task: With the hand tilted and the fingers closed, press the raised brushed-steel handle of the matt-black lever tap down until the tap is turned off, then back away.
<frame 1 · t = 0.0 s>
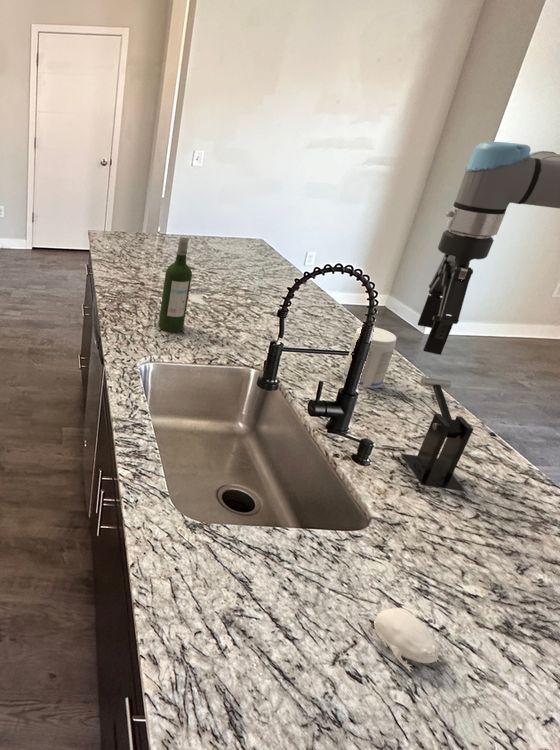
hand: (428, 338, 106), 28 cm above the countertop, tool pointing down, fingers open, 13 cm apart
supplement tub: (360, 382, 146), on the countertop
tap lever: (443, 406, 110), point 14 cm above the countertop, hinge at 25.0°
wine bottle: (170, 327, 173), on the countertop
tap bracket: (429, 475, 112), on the countertop
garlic: (403, 644, 78), on the countertop
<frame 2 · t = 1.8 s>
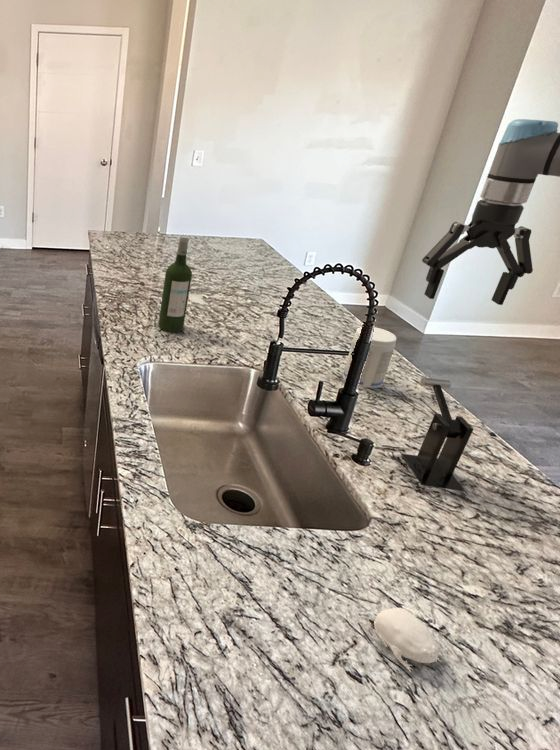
hand: (462, 299, 117), 31 cm above the countertop, tool pointing down, fingers open, 13 cm apart
nothing on the countertop moved.
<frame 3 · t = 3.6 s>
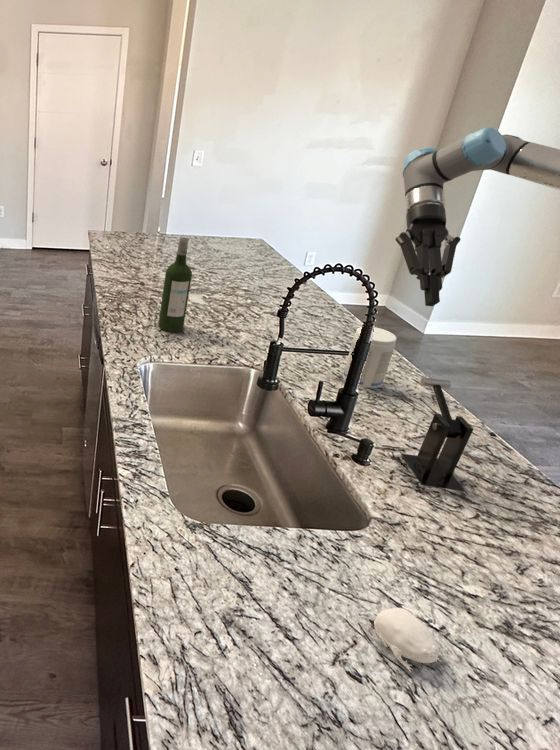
hand: (432, 303, 118), 30 cm above the countertop, tool tilted 45°, fingers closed
nothing on the countertop moved.
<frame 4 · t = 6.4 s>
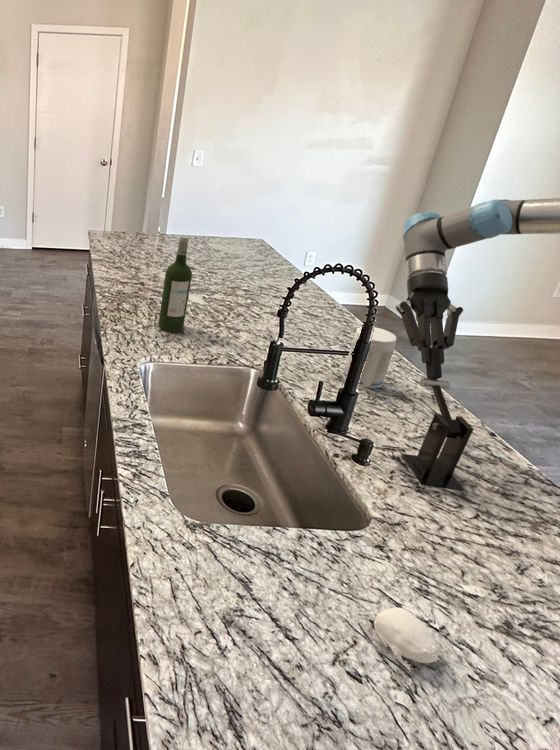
hand: (434, 378, 114), 17 cm above the countertop, tool tilted 45°, fingers closed
tap lever: (442, 406, 110), point 14 cm above the countertop, hinge at 23.6°, touching gripper
everything else where it was.
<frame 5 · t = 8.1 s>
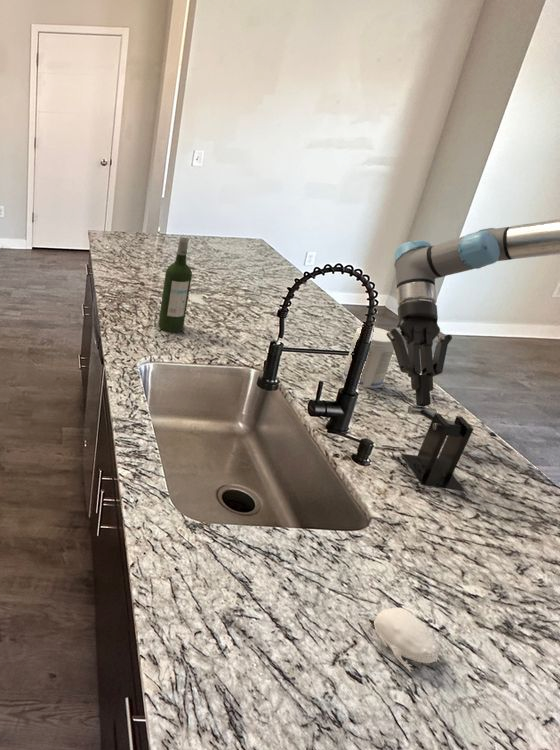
hand: (423, 404, 117), 11 cm above the countertop, tool tilted 45°, fingers closed
tap lever: (436, 419, 112), point 11 cm above the countertop, hinge at -15.3°, touching gripper
everything else where it was.
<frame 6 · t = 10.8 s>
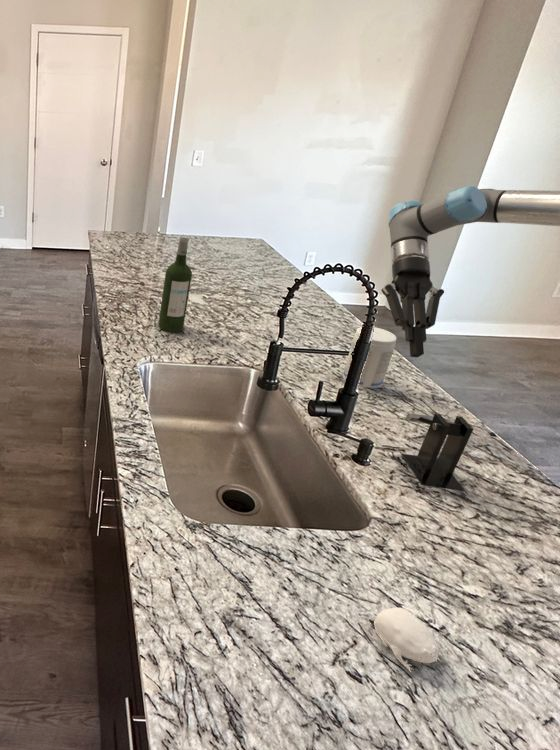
hand: (417, 355, 122), 18 cm above the countertop, tool tilted 45°, fingers closed
tap lever: (435, 423, 112), point 10 cm above the countertop, hinge at -24.3°
everything else where it was.
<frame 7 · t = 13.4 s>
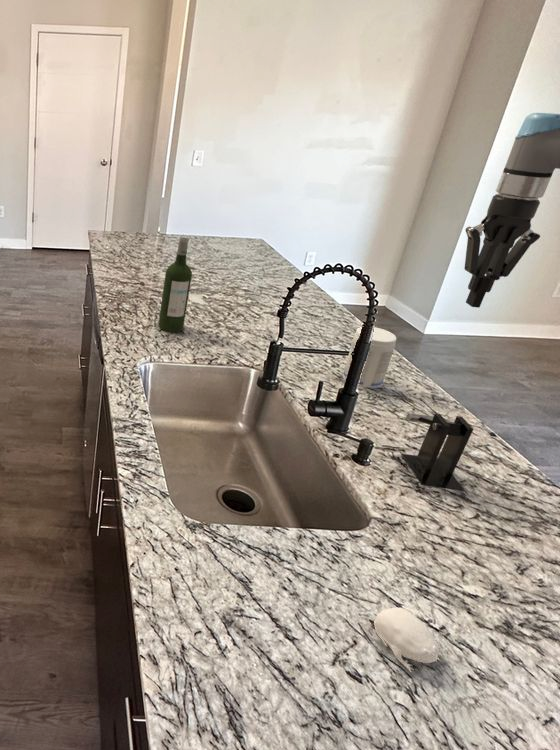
hand: (472, 304, 117), 30 cm above the countertop, tool pointing down, fingers closed
nothing on the countertop moved.
at the end: tap lever at -24° (first picture: +25°); supplement tub moved 0.2 cm from its start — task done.
